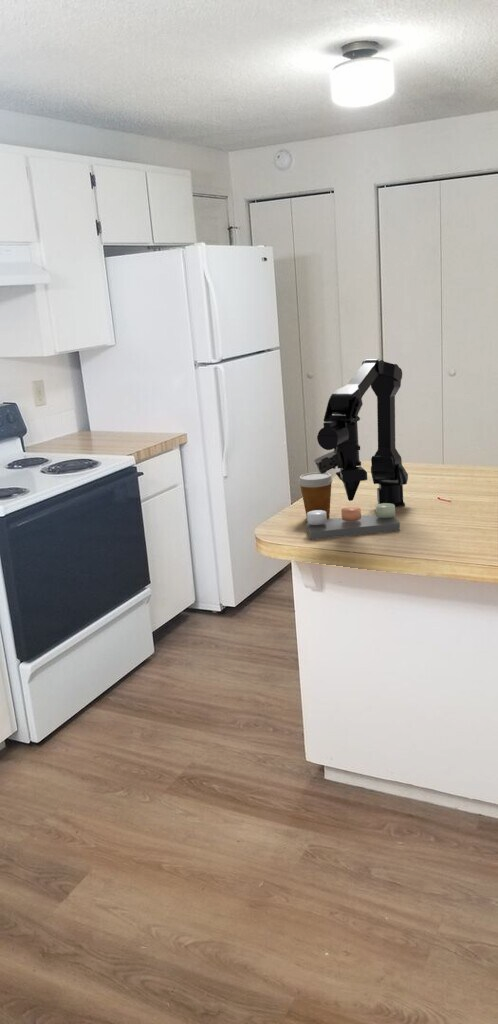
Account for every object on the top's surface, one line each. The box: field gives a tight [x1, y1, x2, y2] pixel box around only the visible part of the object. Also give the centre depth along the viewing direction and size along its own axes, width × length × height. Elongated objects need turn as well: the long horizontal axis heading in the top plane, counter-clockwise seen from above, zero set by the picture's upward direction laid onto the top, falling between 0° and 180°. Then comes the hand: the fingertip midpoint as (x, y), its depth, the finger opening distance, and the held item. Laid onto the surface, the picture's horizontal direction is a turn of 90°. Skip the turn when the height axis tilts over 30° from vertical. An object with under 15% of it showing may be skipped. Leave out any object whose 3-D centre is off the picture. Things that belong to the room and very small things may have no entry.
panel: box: [305, 513, 401, 541], centre depth 216 cm, size 23×10×2 cm, turn 93°
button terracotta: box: [340, 506, 362, 521], centre depth 215 cm, size 5×5×2 cm
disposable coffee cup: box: [297, 471, 334, 519], centre depth 228 cm, size 10×10×12 cm
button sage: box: [374, 503, 396, 518], centre depth 215 cm, size 5×5×2 cm
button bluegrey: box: [306, 510, 327, 525], centre depth 215 cm, size 5×5×2 cm
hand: (350, 500), depth 214 cm, fingers closed
